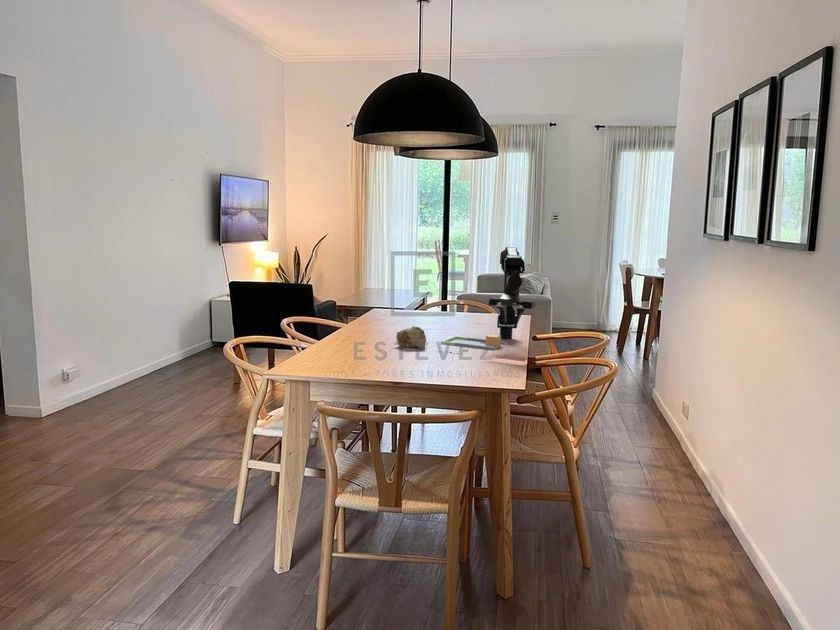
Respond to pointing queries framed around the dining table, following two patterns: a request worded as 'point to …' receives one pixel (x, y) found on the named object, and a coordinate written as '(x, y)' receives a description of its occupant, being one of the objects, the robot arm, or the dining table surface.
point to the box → (468, 342)
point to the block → (493, 340)
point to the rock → (411, 337)
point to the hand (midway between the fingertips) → (510, 323)
